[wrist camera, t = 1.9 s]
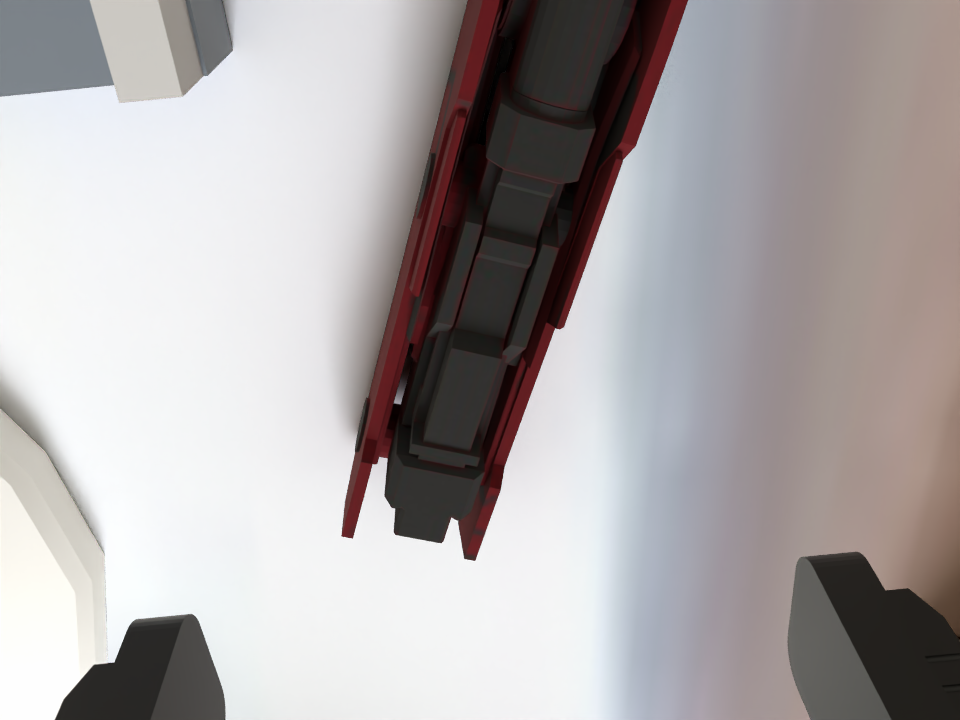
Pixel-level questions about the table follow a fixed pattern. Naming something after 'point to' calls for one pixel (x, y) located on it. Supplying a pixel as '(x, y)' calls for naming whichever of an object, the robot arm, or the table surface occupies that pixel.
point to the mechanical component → (501, 245)
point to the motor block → (110, 45)
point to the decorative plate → (44, 584)
